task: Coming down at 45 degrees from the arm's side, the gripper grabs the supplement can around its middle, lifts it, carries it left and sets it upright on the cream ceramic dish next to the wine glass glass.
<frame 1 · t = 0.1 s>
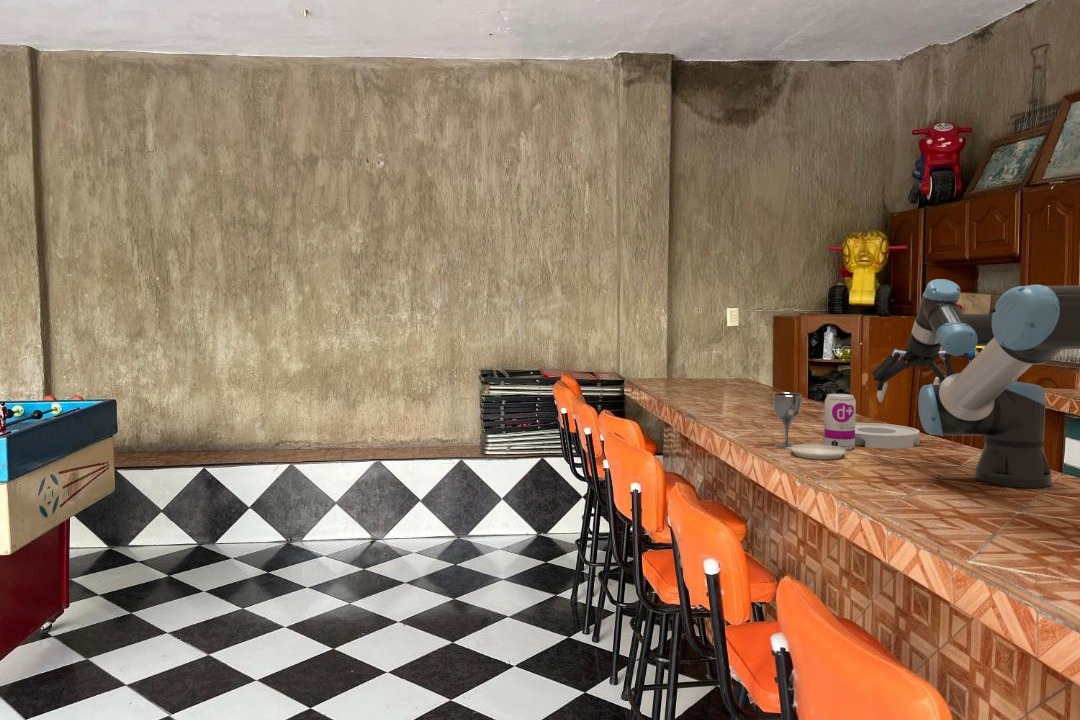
hand: (905, 398, 211), 15 cm above the counter, tool tilted 35°, fingers open, 13 cm apart
wine glass: (786, 446, 228), on the counter
supplement can: (839, 448, 225), on the counter
ashtray: (876, 443, 235), on the counter
dish: (817, 455, 214), on the counter
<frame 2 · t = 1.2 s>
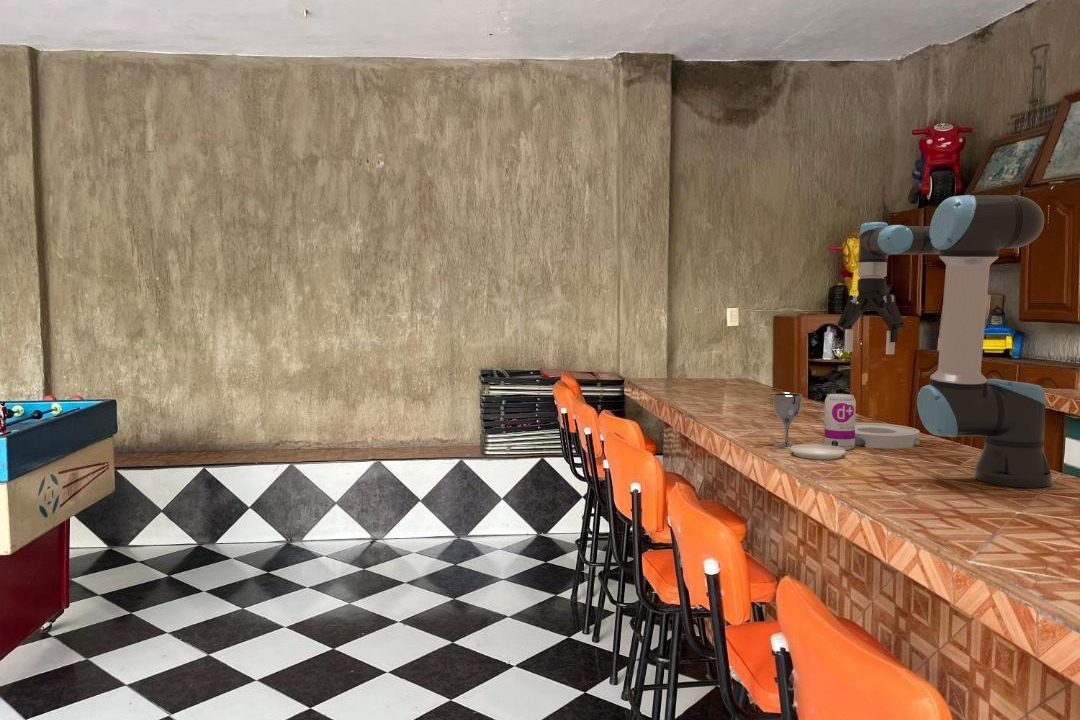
hand: (868, 353, 226), 27 cm above the counter, tool pointing down, fingers open, 13 cm apart
nothing on the counter moved.
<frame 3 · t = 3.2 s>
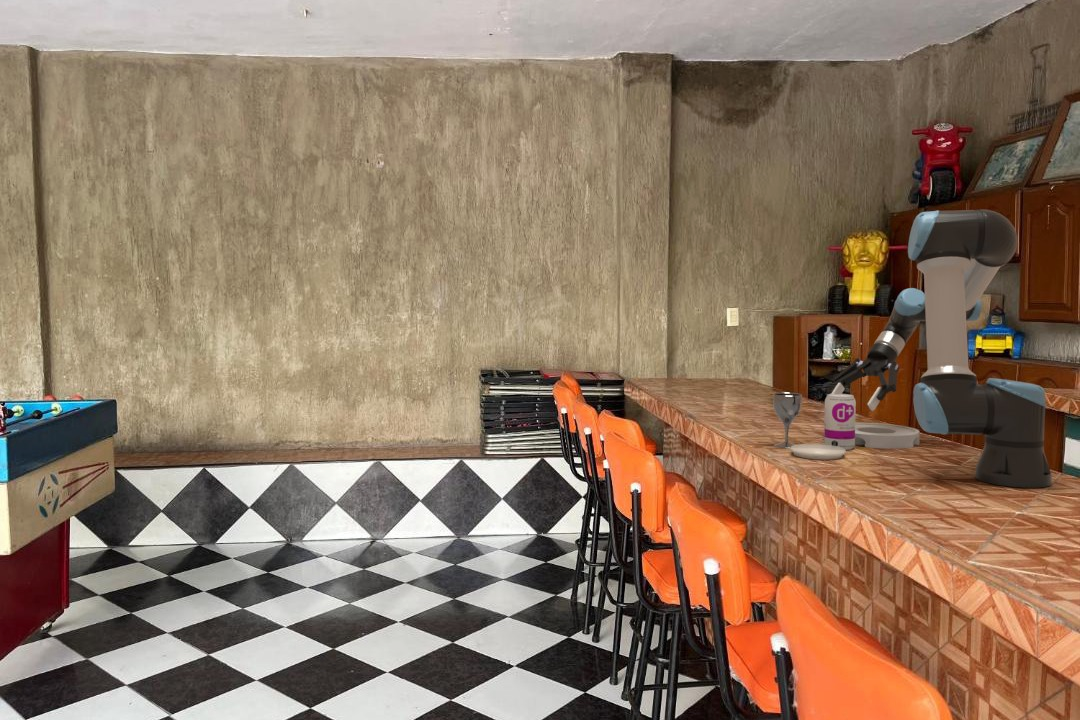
hand: (850, 405, 227), 12 cm above the counter, tool tilted 45°, fingers open, 13 cm apart
nothing on the counter moved.
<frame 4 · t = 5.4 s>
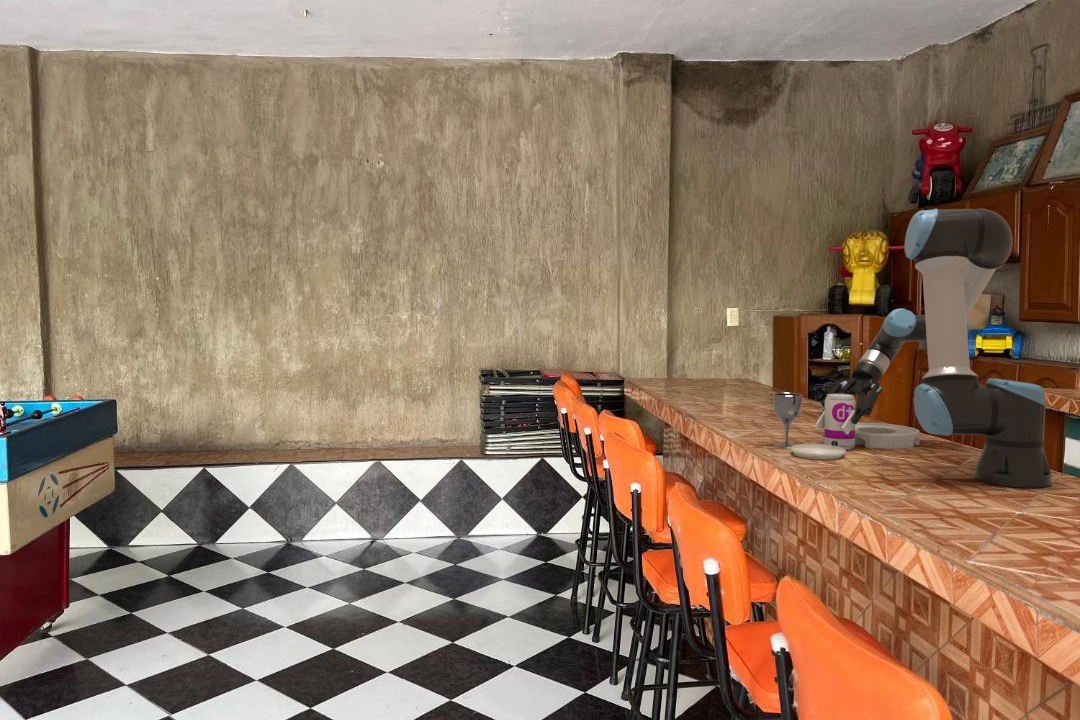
hand: (831, 428, 222), 6 cm above the counter, tool tilted 45°, fingers closed on supplement can, 8 cm apart
supplement can: (839, 448, 225), on the counter, touching gripper
everything else where it was.
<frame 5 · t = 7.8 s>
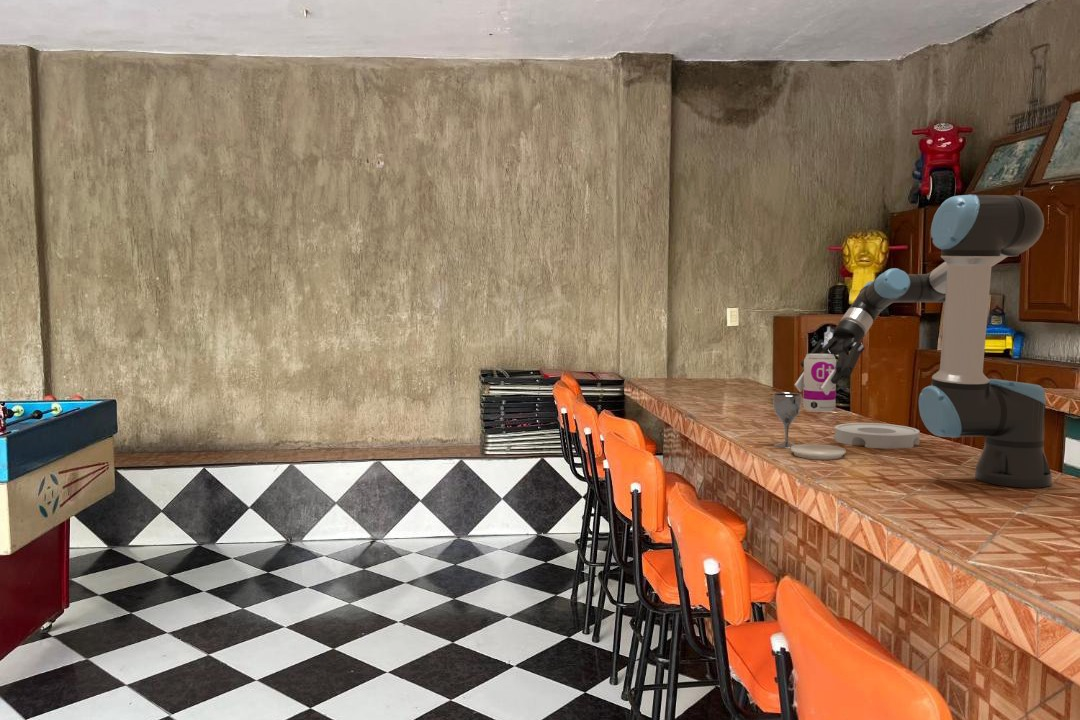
hand: (810, 389, 211), 18 cm above the counter, tool tilted 45°, fingers closed on supplement can, 8 cm apart
supplement can: (819, 410, 213), point 12 cm above the counter, touching gripper
everything else where it was.
when the fingers open (9 cm above the counter, at t = 10.4 s): supplement can drops 1 cm, resting on dish.
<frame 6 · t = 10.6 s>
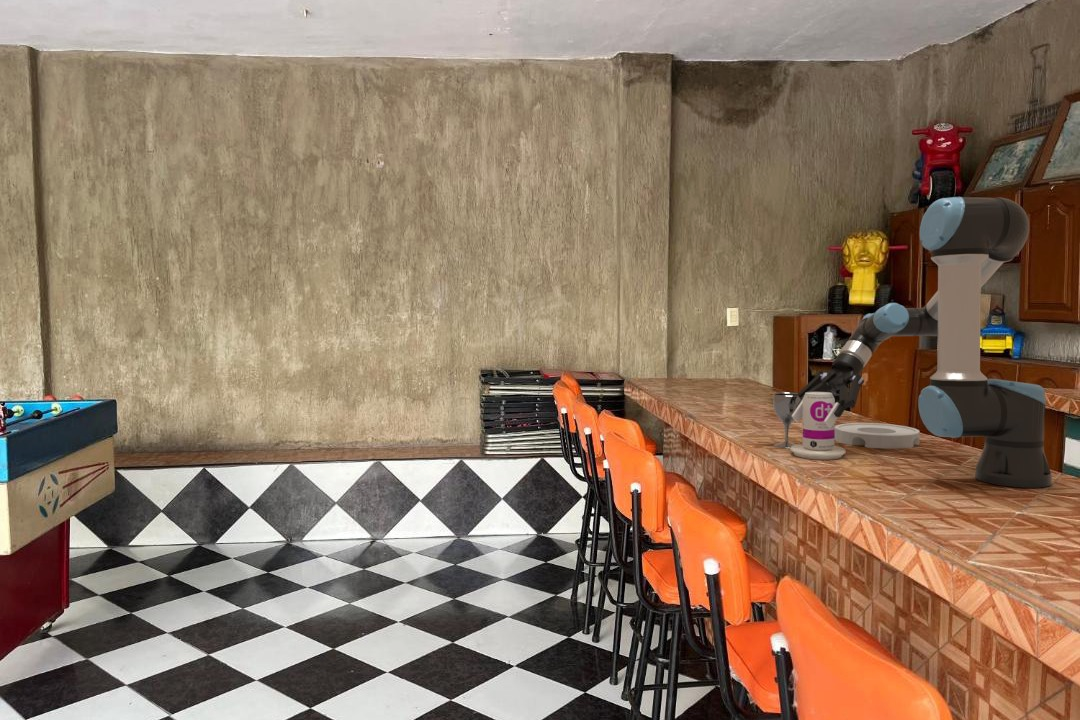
hand: (810, 421, 212), 9 cm above the counter, tool tilted 45°, fingers open, 10 cm apart
supplement can: (818, 449, 214), point 2 cm above the counter, touching dish
everything else where it was.
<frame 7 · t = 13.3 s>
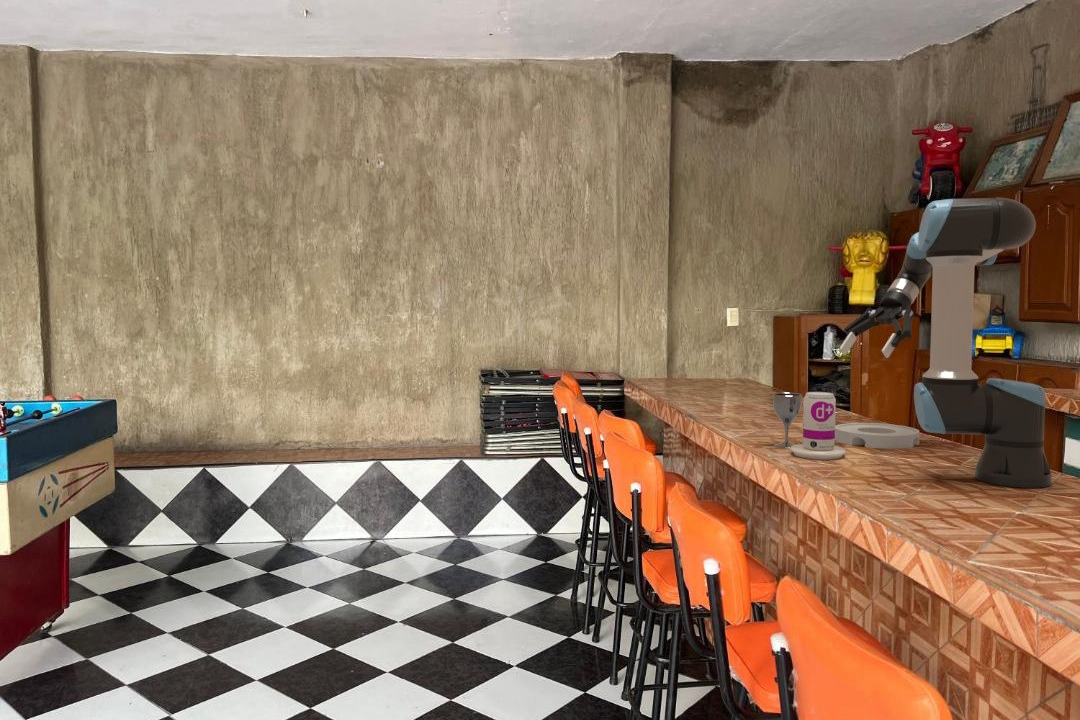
hand: (863, 353, 219), 27 cm above the counter, tool tilted 45°, fingers open, 13 cm apart
nothing on the counter moved.
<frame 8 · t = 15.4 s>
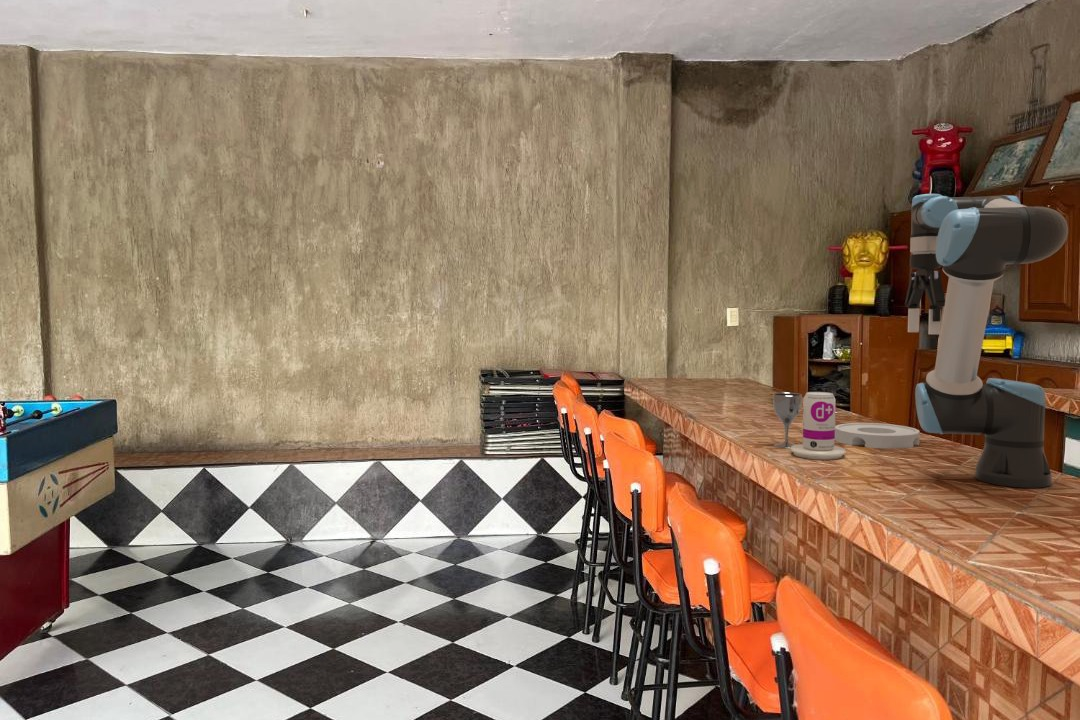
hand: (923, 333, 213), 33 cm above the counter, tool pointing down, fingers open, 13 cm apart
nothing on the counter moved.
at the end: supplement can inside the target area on the dish (0.1 cm from its centre), point 1.6 cm above the dish's base; supplement can tilted 0°; the gripper is holding nothing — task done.
